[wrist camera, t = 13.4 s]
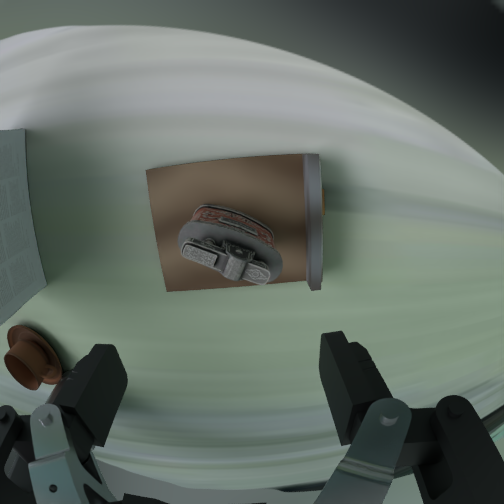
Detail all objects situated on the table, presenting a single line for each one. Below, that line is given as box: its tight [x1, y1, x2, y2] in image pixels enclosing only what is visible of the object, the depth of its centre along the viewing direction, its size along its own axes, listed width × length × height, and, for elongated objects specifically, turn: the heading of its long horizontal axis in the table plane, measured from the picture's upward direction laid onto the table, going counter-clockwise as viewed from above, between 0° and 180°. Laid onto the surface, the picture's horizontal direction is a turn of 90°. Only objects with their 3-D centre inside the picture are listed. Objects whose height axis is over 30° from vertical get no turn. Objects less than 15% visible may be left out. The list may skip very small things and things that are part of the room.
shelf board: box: [146, 154, 325, 292], centre depth 27 cm, size 13×17×4 cm
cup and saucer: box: [4, 325, 62, 390], centre depth 32 cm, size 12×12×6 cm
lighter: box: [178, 204, 283, 285], centre depth 23 cm, size 8×3×10 cm, turn 68°
